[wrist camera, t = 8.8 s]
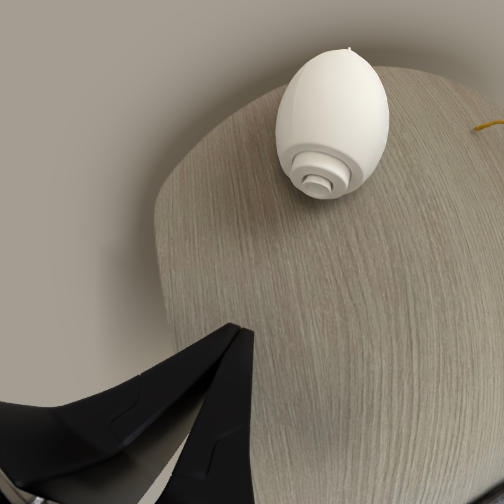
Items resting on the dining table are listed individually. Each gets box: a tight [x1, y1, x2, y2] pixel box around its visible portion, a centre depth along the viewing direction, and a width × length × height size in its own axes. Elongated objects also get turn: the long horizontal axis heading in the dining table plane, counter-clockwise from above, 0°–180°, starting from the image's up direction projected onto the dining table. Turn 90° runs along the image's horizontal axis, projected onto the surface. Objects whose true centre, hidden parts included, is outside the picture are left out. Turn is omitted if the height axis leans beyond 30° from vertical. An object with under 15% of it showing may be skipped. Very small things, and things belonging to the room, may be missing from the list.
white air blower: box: [276, 47, 389, 199], centre depth 18 cm, size 8×8×18 cm
